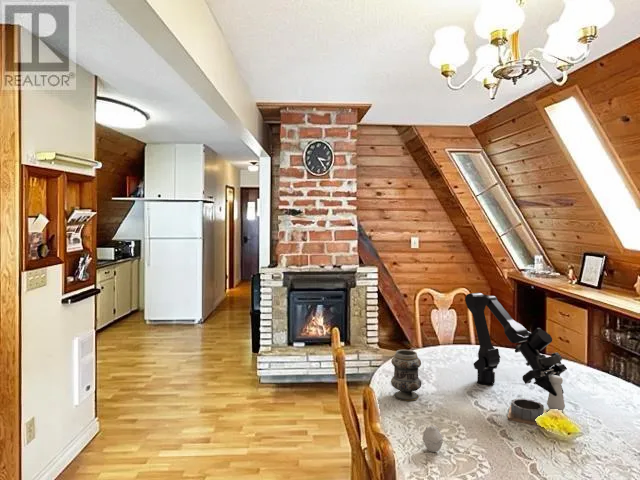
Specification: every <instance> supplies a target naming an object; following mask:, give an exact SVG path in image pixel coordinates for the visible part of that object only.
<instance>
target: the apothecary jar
mask: <svg viewBox="0 0 640 480" xmlns="http://www.w3.org/2000/svg"><path fill="white" fill-rule="evenodd" d="M391 364H392V367H394V369H393V370H394V371H393V373H394V374H393V376H392V377H391V378H390V379H391V380H390V384H391V386H392V387H393V388H394V389H395V390H396V392H395V393H394V394H393V398H395V399H397V400H398V401H403V402H412V401H417V400H419V397H420V395H419V394H418V393H416V392H415V391H418V390H419V389H420V388H421V387H422V380H421V379H420V378H419V368H420V367H421V365H422V360H421V359H420V358H419V357H418V353H417V351H414V350H410V349H398V350H396V351H395V354H394V356H393V357H392V358H391Z"/></svg>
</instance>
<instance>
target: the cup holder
mask: <svg viewBox="0 0 640 480" xmlns="http://www.w3.org/2000/svg"><path fill="white" fill-rule="evenodd" d="M544 408H545V406H544V404H543V403H541V402H539V401H537V400H534V399H529V398H514V399H512V400H511V402H510V406H509V411H508V414H507V421H511V422H517V423H522V424H525V425H526V424H527V425H532V426H536V427H537V426H538V425H537V423H536V421H535V419H536V418H537V417H538V416H540V415H542V414H543V413H544V412H546V411H547V410H544ZM546 413H547V412H546ZM538 427H539V426H538Z"/></svg>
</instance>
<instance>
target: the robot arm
mask: <svg viewBox="0 0 640 480" xmlns="http://www.w3.org/2000/svg"><path fill="white" fill-rule="evenodd" d="M464 302H465V304H466V307H467V309H468V311H469V312H470V313H471V314H472V318H473V321H474V326H475V331H476V336H477V339H478V344H479V348H478V353H477V357H478V358H477V360H476V361H474V363H473V368H474V369H475V370H477V381H476V384H477V385H478V384H480V385H487V386H494V384H495V383H496V372H495V369H498V365H499V364H500V362H501V356H500V353H499V352H500V351H499V350H500V349H498V348H495V347H494V345H493V344H492V340H491V337H490V331H489V328H488V327H489V326H488V324H487V323H488V322H487V320H486V315H485V310H486V307H487V308H488V310H489V311H490V312H491V313H492V314H493V315H494V317H495V318H496V319H497V321H498V322H499V323H500V324H501V326H502V327H503V330H504V334H505V336H506V337H507V339H508V341H509V342H510V343H511V344H515V350H514V353H515V354H516V353H521V355H522V357H524V359H525V360H526V362H525V365H526V366H527V367H528V366H530V368H531V369H530V370H529V371H527V372H526V373H524V375H522V380H523V381H522V382H524V384H525V385H527V384H530V383H532V380H533V379H534V381H533V384H534V385H536V386H537V387H540V388H542V389H543V390H545V391H546V392H548V394H549V393H551V394H552V395H554V396H557V393H556V391H555V390H554V388H553V386H552V385H551V382H550V381H549V378H550V376H551V375H557V376H560V377H561V374H562V373H564V372H566V371H567V370H568V368H567V367H566V365H565V364H564V363H562V360H563V357H562V356H561V355H560V354H559V352H553V353H551V355H550V356H546V355H545V354H541V353H540V352H539V351H542V350H544V349H545V348H546V347H547V346H549V345H550V344H551V343H552V342H553V337H552V335H551V334H550V333H548V332H547V331H545V330H543V329H542V328H541V327H536V328H535V329H534V330H533V331H532V332H531V331H528V330H527V328H525V326H523V324H521V323H519V322H518V321H516V320H514V319H513V317H512V316H511V315H510V314H509V312H508V311H507V310H506V309H505V308H504V307H503V305H502V304H501V303H500V302H499V301H498V298H497V296H495V295H489V294H483V293H481V292H472V293H468V294H466V296H465V298H464ZM519 343H521V344H519ZM516 344H518V345H516ZM561 387H562V385H561ZM562 393H563V394H565V393H564V389H563V387H562Z"/></svg>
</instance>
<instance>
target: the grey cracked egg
mask: <svg viewBox="0 0 640 480" xmlns="http://www.w3.org/2000/svg"><path fill="white" fill-rule="evenodd" d="M422 435H423V436H422V442H423V443H424V445H425V448H426V449H427V450H428V451H429V452H431V453H436V452H437V453H438V451H440V449H441V448H442V446H443V442H444V438H443V436H442V433H441V432H440V430H439V428H438V426H432V425H429V426H426V427H425V429H424V430H423V434H422Z"/></svg>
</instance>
